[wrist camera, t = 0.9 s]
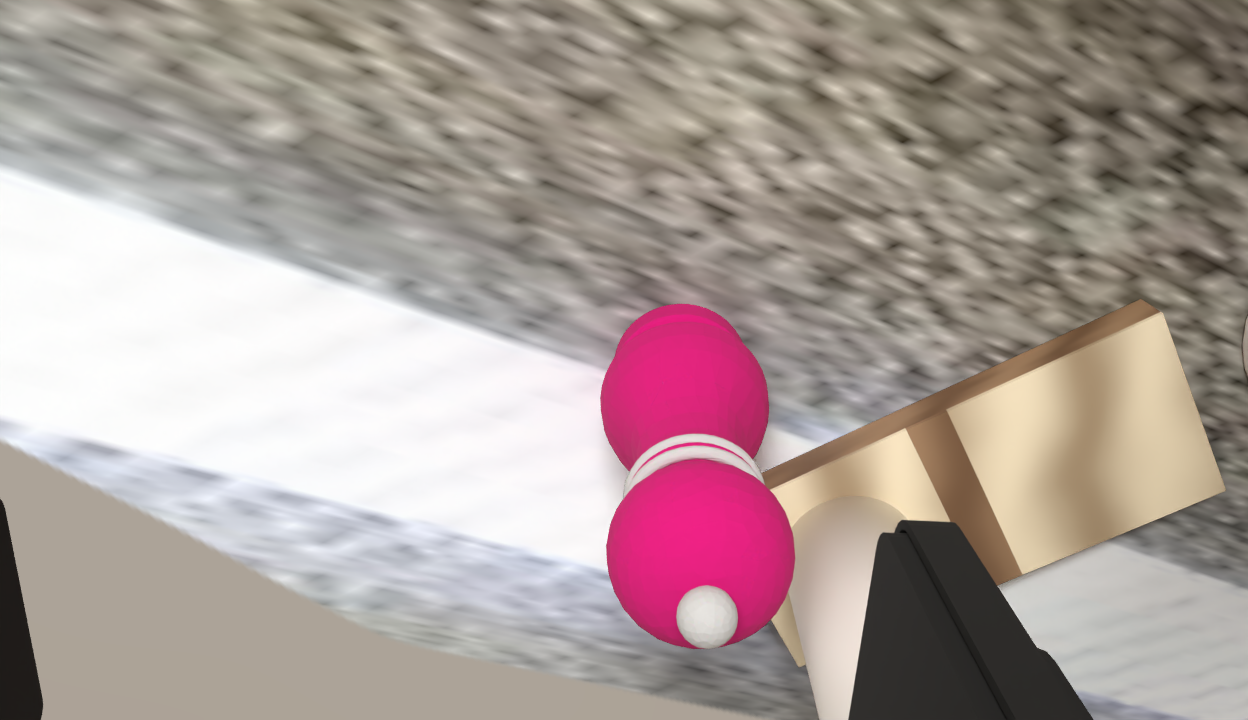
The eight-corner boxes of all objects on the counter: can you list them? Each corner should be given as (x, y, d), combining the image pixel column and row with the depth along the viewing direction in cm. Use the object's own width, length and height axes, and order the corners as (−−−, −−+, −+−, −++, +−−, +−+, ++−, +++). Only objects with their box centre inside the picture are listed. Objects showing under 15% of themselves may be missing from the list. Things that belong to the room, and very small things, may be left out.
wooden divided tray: (1140, 299, 44) (1162, 313, 42) (1203, 470, 47) (1226, 490, 45) (708, 497, 48) (711, 518, 46) (793, 642, 51) (799, 667, 49)
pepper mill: (741, 277, 44) (816, 501, 25) (769, 417, 46) (857, 713, 28) (587, 311, 44) (550, 553, 26) (623, 447, 47) (614, 756, 29)
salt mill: (886, 474, 45) (1071, 848, 26) (938, 578, 47) (1145, 996, 28) (758, 531, 46) (844, 928, 27) (815, 630, 49) (932, 1064, 29)
